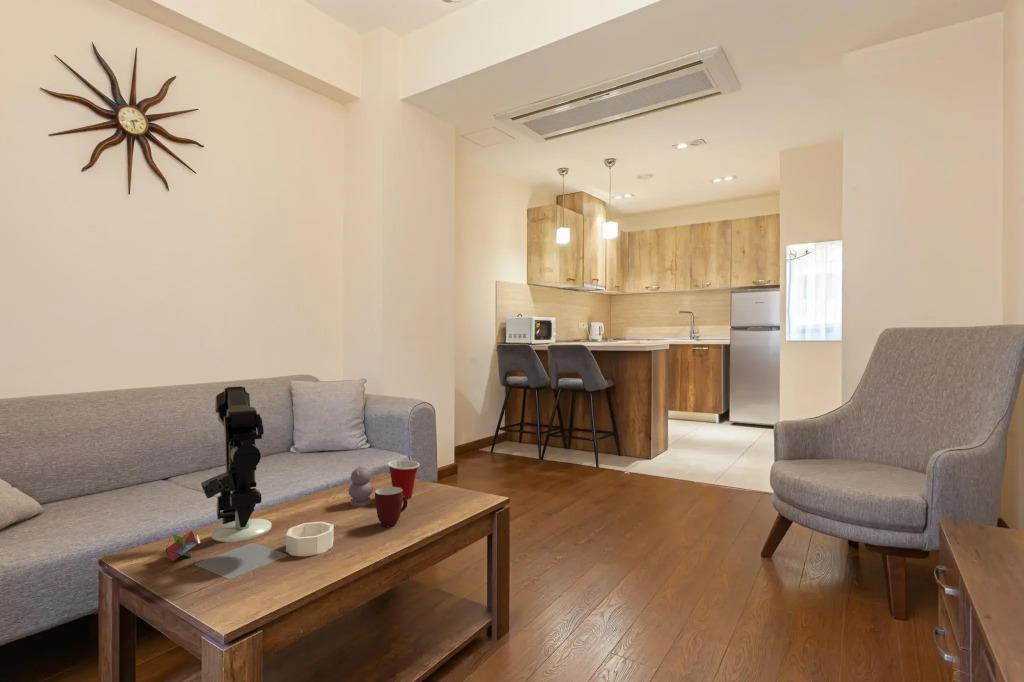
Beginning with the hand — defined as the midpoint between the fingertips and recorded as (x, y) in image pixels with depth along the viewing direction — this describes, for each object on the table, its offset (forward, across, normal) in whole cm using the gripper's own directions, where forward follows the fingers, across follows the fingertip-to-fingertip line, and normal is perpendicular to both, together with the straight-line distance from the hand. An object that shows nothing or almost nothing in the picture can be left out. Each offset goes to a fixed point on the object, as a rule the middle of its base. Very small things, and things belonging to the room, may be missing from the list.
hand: (242, 525), depth 124 cm
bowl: (+9, +1, +16) cm, 18 cm away
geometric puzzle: (+9, -10, -12) cm, 18 cm away
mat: (+9, 0, 0) cm, 9 cm away
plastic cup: (+9, -26, +52) cm, 59 cm away
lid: (+2, 0, 0) cm, 2 cm away
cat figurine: (+9, -28, +38) cm, 48 cm away
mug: (+9, -4, +40) cm, 41 cm away
